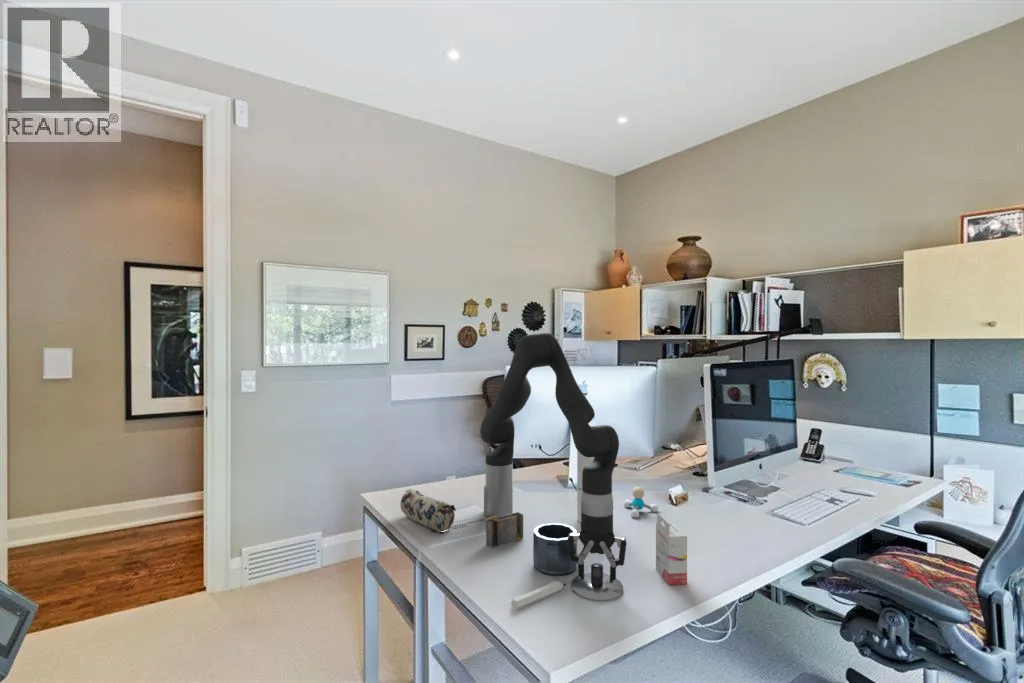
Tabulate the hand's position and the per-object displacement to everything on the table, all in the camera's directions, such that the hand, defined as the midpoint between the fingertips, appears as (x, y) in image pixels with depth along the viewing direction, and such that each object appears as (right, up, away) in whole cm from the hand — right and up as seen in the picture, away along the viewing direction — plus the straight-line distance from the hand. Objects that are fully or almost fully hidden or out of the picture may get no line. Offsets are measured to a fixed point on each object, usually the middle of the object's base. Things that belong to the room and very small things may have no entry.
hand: (597, 579), depth 115 cm
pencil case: (-48, -2, +40) cm, 63 cm away
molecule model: (+24, -2, +51) cm, 57 cm away
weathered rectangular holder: (-22, -3, +26) cm, 34 cm away
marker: (-13, -2, -4) cm, 14 cm away
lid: (0, -2, 0) cm, 2 cm away
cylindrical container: (+5, -2, +43) cm, 43 cm away
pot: (-9, -2, +11) cm, 14 cm away
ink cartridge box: (+19, -2, +5) cm, 20 cm away
